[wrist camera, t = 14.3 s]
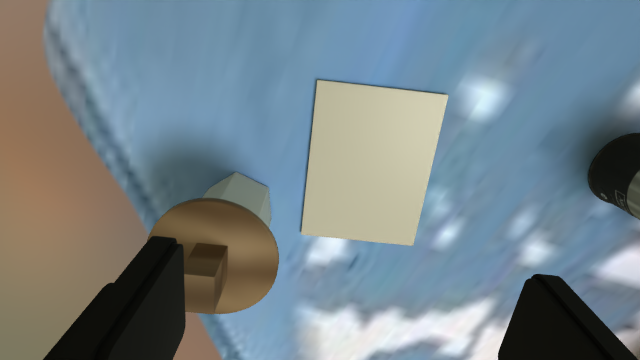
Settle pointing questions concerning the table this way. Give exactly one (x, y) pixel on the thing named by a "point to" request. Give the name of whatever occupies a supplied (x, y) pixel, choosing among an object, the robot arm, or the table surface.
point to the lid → (221, 254)
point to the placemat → (370, 161)
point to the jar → (244, 195)
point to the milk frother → (618, 174)
